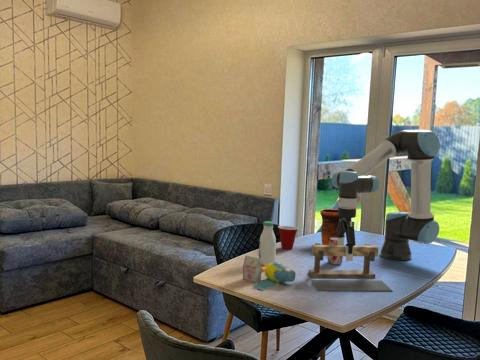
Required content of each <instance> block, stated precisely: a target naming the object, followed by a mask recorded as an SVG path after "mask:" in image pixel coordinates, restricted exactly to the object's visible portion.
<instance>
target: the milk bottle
mask: <svg viewBox="0 0 480 360" xmlns="http://www.w3.org/2000/svg"><path fill="white" fill-rule="evenodd" d="M262 224H263V225H262V226H263V230H262V231H261V234H260V237H259V246H258V258H259V260H260V264H261V266H264V264H266V266H267V265H268V264H269V263H273V262H276V252H277V251H276V249H277V247H276V246H277V244H276V243H277V241H276V240H277V238H276V235H275V232H274V230H273V229H274V222H273V221H270V220H269V221H268V220H265V221H263V222H262Z"/></svg>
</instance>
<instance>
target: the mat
mask: <svg viewBox="0 0 480 360" xmlns="http://www.w3.org/2000/svg"><path fill="white" fill-rule="evenodd" d="M311 283H312V285H313V286H314V287H315V289H316V291H317V292H367V293H368V292H372V293H373V292H375V293H376V292H378V293H379V292H386V293H387V292H390V293H392V292H393V290H392V289H391V287H390V286H388V285H387V284H386V283H385V282H384V281H383V280H380V279H379V280H377V279H376V280H374V279H373V280H369V279H367V280H363V279H362V280H361V279H359V280H356V279H353V280H352V279H350V280H349V279H311Z"/></svg>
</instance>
